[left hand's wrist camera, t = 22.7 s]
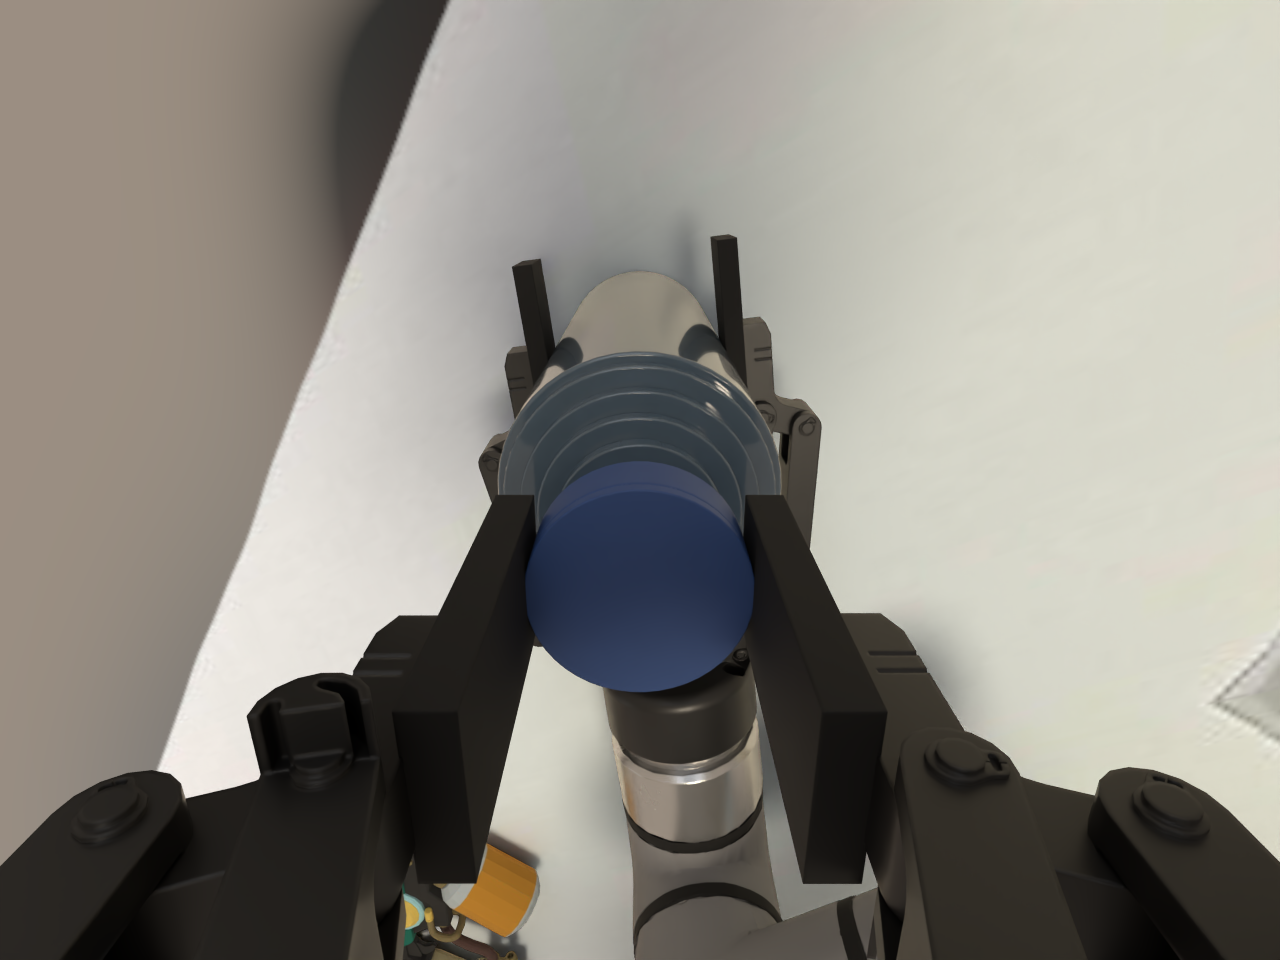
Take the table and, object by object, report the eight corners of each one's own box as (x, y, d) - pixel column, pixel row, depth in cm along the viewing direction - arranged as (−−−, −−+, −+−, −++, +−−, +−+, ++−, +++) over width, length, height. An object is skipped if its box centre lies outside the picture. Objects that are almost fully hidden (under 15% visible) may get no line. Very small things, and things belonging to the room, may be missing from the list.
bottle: (699, 417, 38) (788, 741, 15) (565, 403, 38) (452, 712, 15) (719, 279, 35) (860, 423, 13) (574, 263, 35) (457, 381, 13)
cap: (495, 581, 15) (480, 622, 14) (610, 418, 14) (607, 443, 12) (664, 679, 16) (667, 727, 14) (787, 534, 15) (803, 571, 13)
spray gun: (520, 987, 55) (323, 941, 54) (574, 839, 48) (350, 783, 47) (507, 1050, 51) (296, 1002, 50) (564, 900, 44) (320, 840, 43)
